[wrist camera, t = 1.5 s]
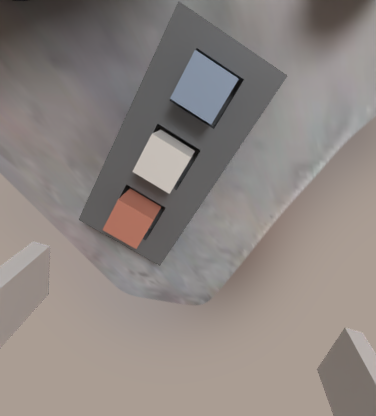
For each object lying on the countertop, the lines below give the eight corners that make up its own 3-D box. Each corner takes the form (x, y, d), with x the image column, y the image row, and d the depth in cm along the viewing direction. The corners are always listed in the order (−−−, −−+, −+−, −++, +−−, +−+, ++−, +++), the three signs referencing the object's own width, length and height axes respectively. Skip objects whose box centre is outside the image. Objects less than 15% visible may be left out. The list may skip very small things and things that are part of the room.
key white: (143, 163, 30) (132, 171, 27) (160, 129, 29) (151, 133, 25) (175, 183, 31) (169, 194, 27) (195, 150, 29) (191, 157, 25)
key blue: (177, 98, 27) (169, 98, 24) (198, 57, 26) (195, 49, 22) (212, 121, 28) (211, 124, 24) (236, 82, 26) (238, 78, 22)
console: (92, 208, 37) (78, 219, 33) (184, 15, 27) (178, 1, 24) (165, 249, 38) (159, 265, 35) (278, 79, 28) (287, 75, 25)
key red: (115, 215, 33) (102, 230, 30) (130, 188, 32) (118, 199, 28) (145, 233, 34) (136, 249, 30) (161, 206, 32) (153, 220, 28)
